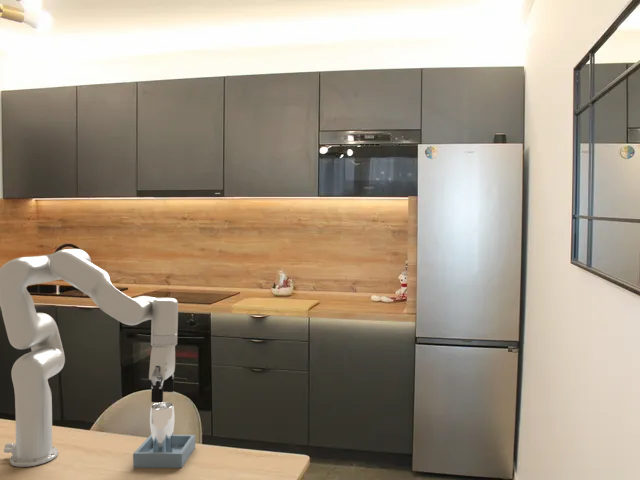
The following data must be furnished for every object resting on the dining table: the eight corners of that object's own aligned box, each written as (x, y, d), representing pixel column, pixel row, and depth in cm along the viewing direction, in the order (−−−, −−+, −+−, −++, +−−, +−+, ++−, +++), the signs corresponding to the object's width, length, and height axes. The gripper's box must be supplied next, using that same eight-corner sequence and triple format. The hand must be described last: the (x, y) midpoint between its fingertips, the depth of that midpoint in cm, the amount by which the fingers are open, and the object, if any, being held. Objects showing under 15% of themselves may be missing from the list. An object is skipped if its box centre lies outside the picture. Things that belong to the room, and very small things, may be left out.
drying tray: (133, 467, 148) (133, 453, 148) (150, 447, 162) (150, 434, 162) (181, 467, 147) (181, 453, 147) (195, 447, 161) (195, 434, 161)
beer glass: (167, 462, 149) (167, 410, 149) (145, 460, 150) (145, 408, 150) (179, 452, 156) (178, 402, 155) (157, 450, 157) (157, 401, 157)
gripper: (161, 333, 163) (160, 387, 163) (140, 345, 146) (139, 405, 146) (185, 334, 163) (183, 388, 163) (167, 346, 145) (165, 406, 146)
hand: (162, 396), depth 154 cm, fingers open, 9 cm apart
